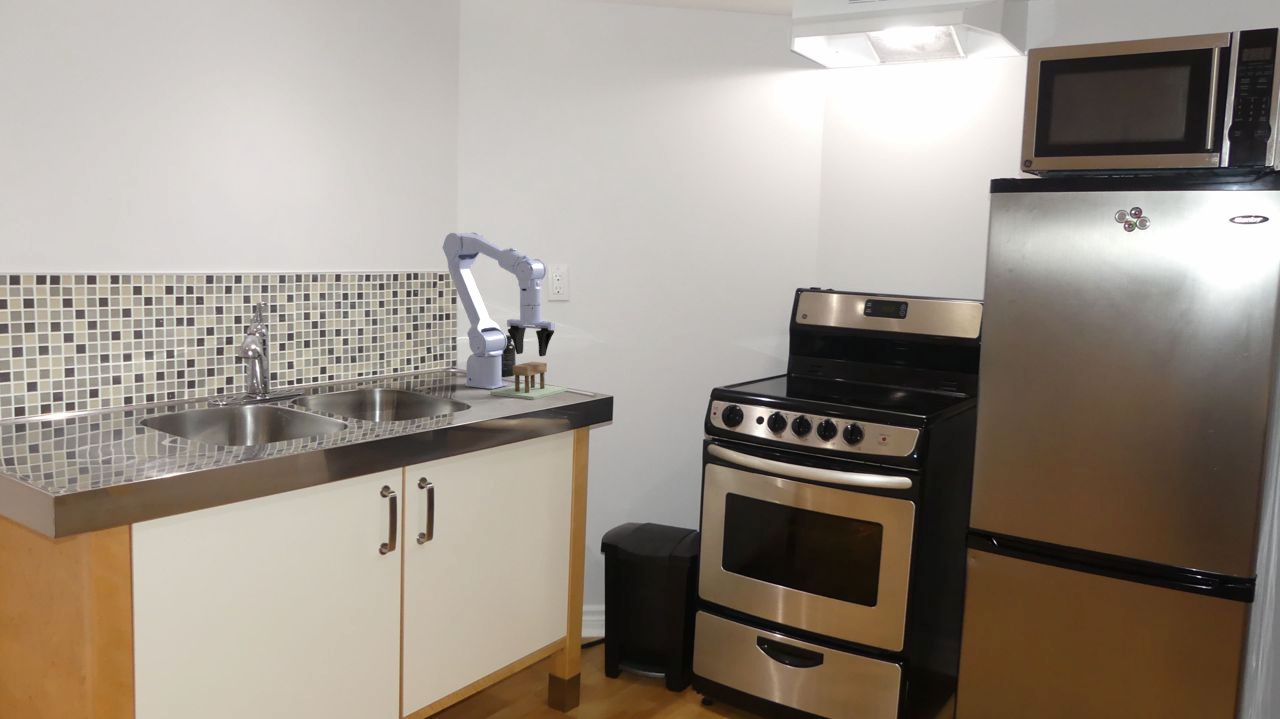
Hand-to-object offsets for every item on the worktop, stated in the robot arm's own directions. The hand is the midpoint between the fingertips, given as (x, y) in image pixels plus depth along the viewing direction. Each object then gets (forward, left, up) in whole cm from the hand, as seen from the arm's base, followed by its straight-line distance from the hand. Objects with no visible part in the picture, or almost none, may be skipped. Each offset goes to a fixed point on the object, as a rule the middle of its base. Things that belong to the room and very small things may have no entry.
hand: (530, 354), depth 262 cm
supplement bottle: (-23, +19, -11) cm, 32 cm away
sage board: (0, 0, -10) cm, 10 cm away
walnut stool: (0, -1, -10) cm, 10 cm away
